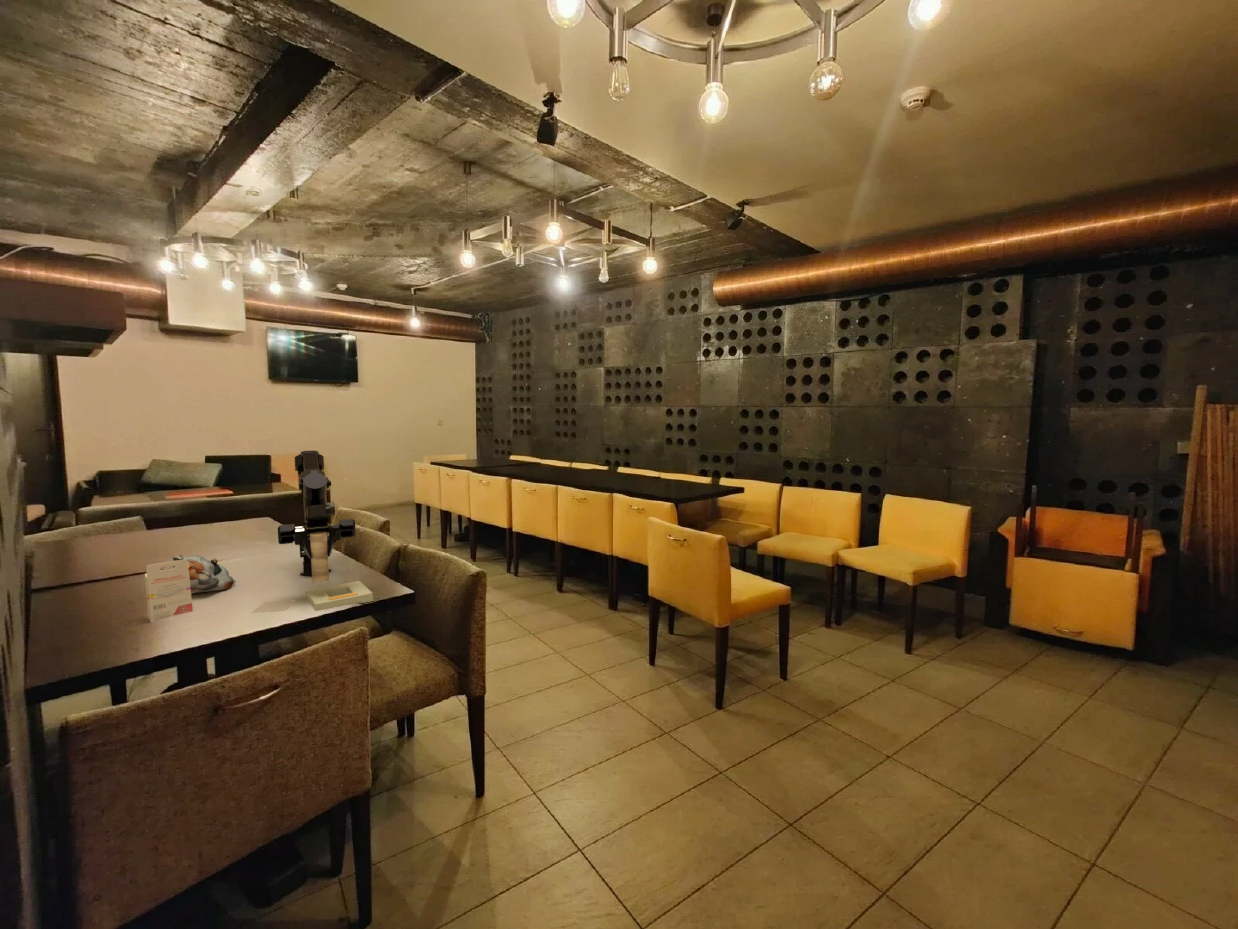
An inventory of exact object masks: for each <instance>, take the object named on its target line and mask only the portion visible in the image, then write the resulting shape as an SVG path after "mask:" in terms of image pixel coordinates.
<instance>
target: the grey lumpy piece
mask: <svg viewBox="0 0 1238 929" xmlns="http://www.w3.org/2000/svg"><path fill="white" fill-rule="evenodd" d="M183 559H186V560H187V565H188V570H189V576H190V587H191V595H193V594H198V593H206V592H215V591H227V590H229V589H230V588H232V586H233V585H234V584H236V580H235V579H234V577H233V576H230V575H229V571H228V570H227V569H226V567H225V566H223V565H221V564H218V561H219V560H218V559H216V558H215V557H214V558H211V559H210V560H208V559H207V558H205V557H203V556H200V555H195V554H193V555H187V556H184V557H183V556H182V554H177V555H175V556H174V557H172V561H177V560H183ZM174 567H175V566H172V568H174Z"/></svg>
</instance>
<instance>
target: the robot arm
mask: <svg viewBox="0 0 1238 929" xmlns="http://www.w3.org/2000/svg"><path fill="white" fill-rule="evenodd" d="M324 457H325V456H324V455H322V454H320V453H319V451H317V450H302V451H300V453H299V454H297V455H296V456H294V471H295V472H297V478H298V479H297V480H298V481H297V482H298V483H297V484H298V491H299V492H301V494H302V495H303V497H302V498H303V499H302V500H303V513H304V524H305V525H304V526H296V525H295V523H289V524H280V525H279V526H278V527H277V538H278V539H277V540H278V541H277V542H278V544H279V545H287V544H288V545H289V544H293V543H294V545H295V546H299V557H300V559H301V558H302V559H303V561H302V572H300V574H299V575H300V576H308V575H312V565H311V559H312V557H311V545H310V534H311V533H315V532H327V534H328V535H327V548H328V558H329V557H330V556H331V553H332V552H333V549H334V546H335V544H336V542H337V541H338V542H339V541H340V540H341V538H342V539H345V538H351V537H352V538H353V537H354V536H355V535H356V520H355V519H353V518H348V519H347V518H346V519H345V518H344V519H338V524H336V525H335V524H334V525H333V524H332V525H330V516H334V515H335V513H336V507H335V502H327V493H328V492H327V490H329V488H330V487H332V482H331V480H330V479H329V478H328V476H326V474H325V471H324V470H325V460H324ZM328 569H329V572H331V571H332V569H331V568H328Z"/></svg>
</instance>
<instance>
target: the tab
mask: <svg viewBox="0 0 1238 929" xmlns="http://www.w3.org/2000/svg"><path fill="white" fill-rule="evenodd" d="M295 602H297V599H294V600H293V599H291V600H276V601H264V602H262V603H261V604H260V605H258V606H257V607H256V608H255V609H253V610H252V611H251V612H250V613H251V614H253V613H254V614H255V613H270V612H271V613H272V612H283V611H286V610H288V609H289V608H290V607H291V606H292V605H293V604H294V603H295Z"/></svg>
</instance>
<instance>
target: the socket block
mask: <svg viewBox="0 0 1238 929" xmlns="http://www.w3.org/2000/svg"><path fill="white" fill-rule="evenodd" d="M373 596H374V594H373V592H372V591H371V590H370V589H368V587H367V586H366V585H365V584H363V583H362V581H360V580H357V581H352V582H347V583H346V582H345V583H340V584H336V585H329V586H324V587H319V588H313V589H307V590H305V597H306V599H307V600H308V601H309V603H310V605H311V606H312V607H313V609H314V610H315V611H316V612H317V611H322V610H327V609H333V608H336V607H342V606H346V605H351V604H358V603H360V602H367V601H368V602H369V601H373V602H374V597H373Z"/></svg>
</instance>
